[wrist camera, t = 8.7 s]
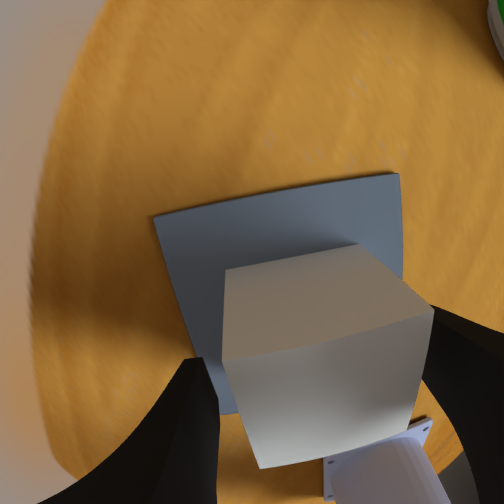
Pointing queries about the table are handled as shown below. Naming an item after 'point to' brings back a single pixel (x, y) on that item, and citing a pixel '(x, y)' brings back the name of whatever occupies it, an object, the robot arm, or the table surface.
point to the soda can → (497, 23)
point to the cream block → (322, 353)
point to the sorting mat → (270, 246)
